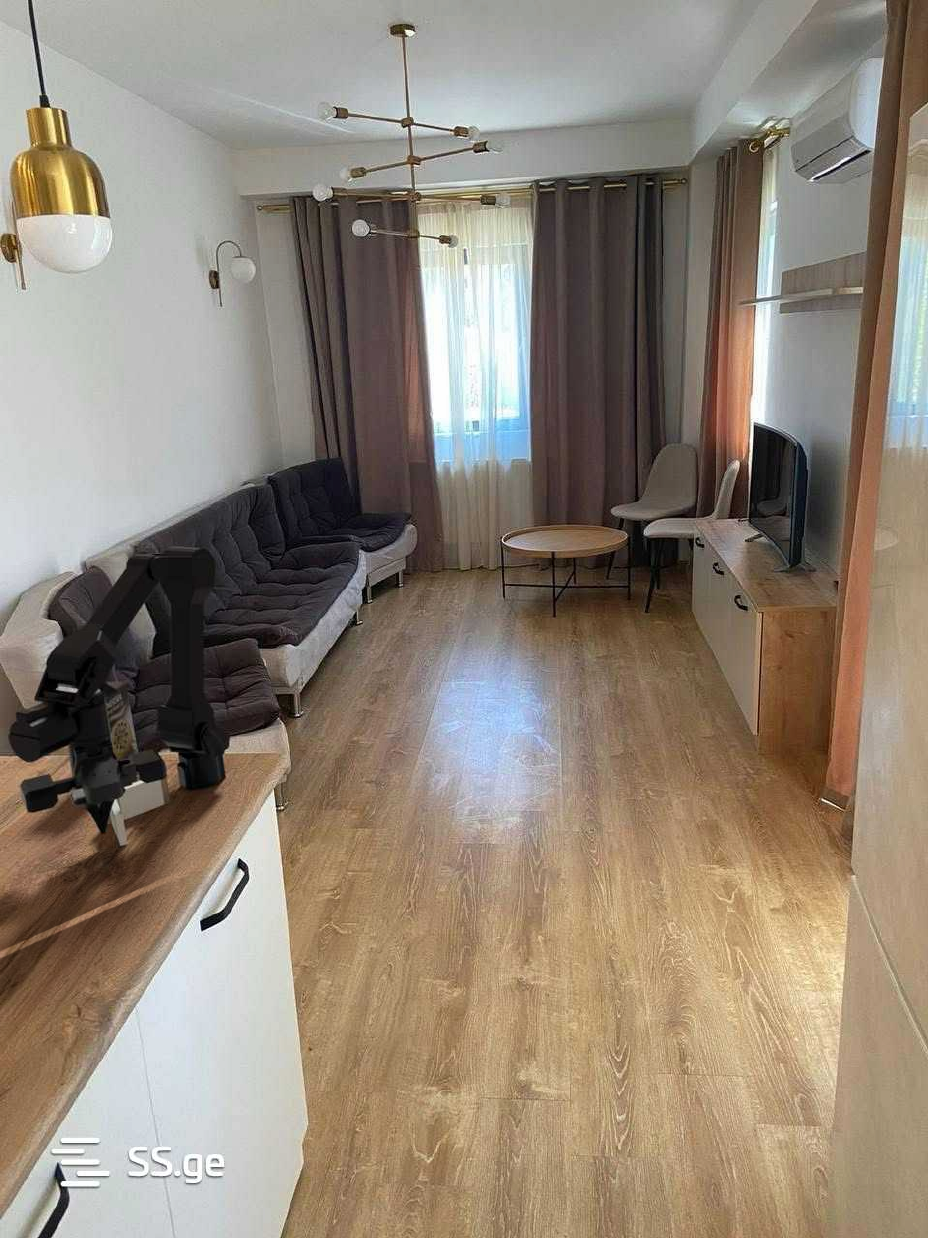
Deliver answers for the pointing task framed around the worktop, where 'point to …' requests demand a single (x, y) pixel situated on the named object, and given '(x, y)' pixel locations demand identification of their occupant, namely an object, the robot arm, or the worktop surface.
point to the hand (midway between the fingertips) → (102, 833)
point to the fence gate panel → (118, 823)
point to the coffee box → (121, 722)
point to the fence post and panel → (143, 798)
